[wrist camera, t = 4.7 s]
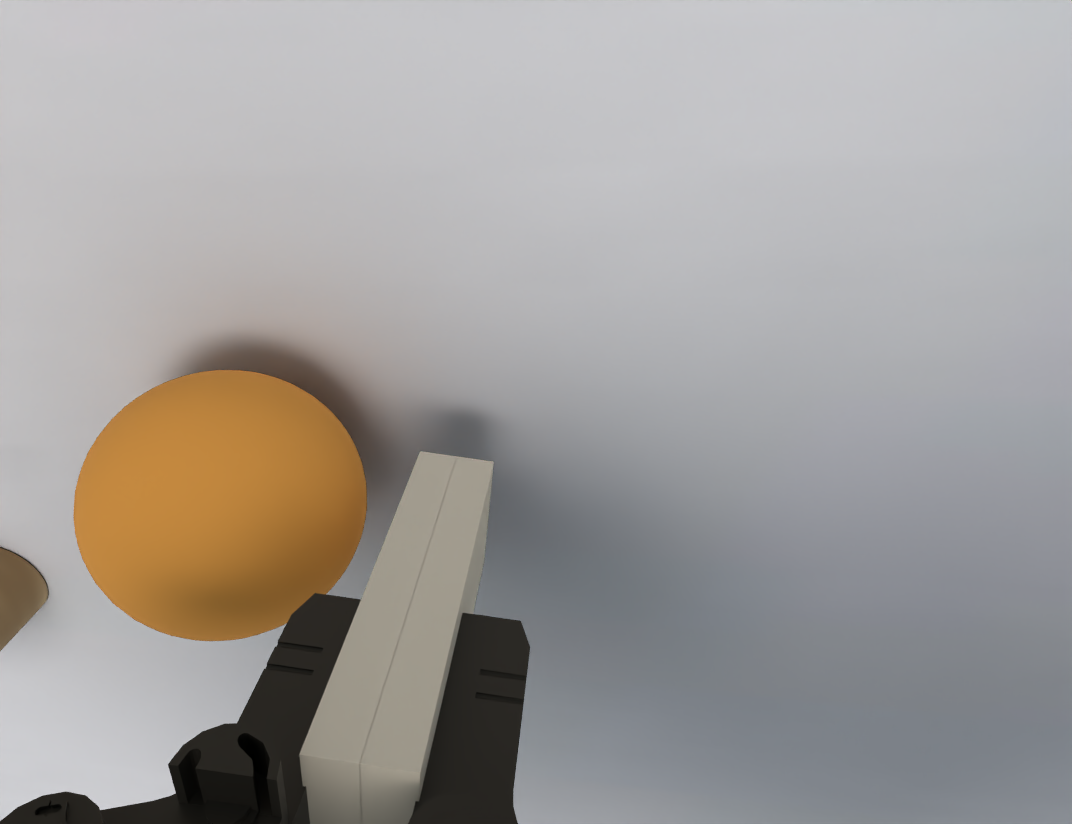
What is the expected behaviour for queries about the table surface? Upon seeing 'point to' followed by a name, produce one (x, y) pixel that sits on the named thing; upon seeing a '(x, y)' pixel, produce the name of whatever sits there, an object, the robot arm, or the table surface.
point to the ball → (219, 504)
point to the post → (18, 594)
